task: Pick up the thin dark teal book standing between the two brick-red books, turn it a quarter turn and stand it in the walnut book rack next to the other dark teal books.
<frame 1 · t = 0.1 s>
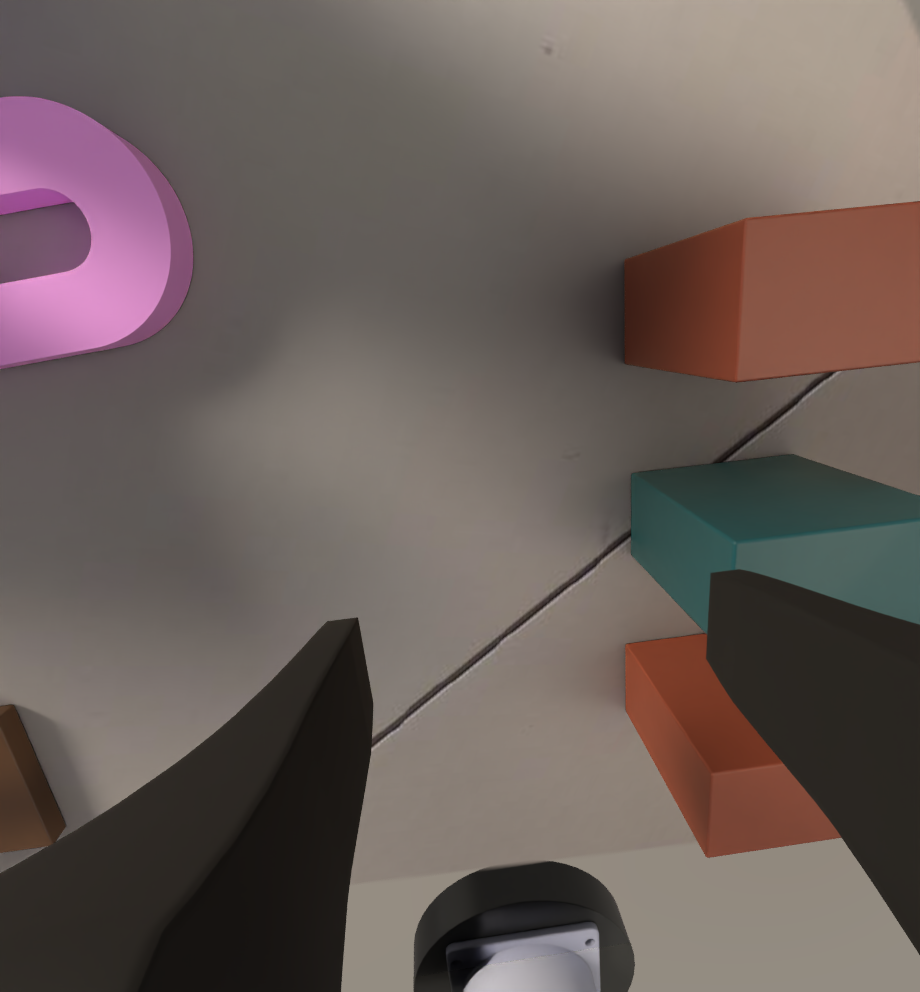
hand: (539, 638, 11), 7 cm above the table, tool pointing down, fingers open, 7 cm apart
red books: (710, 505, 18), on the table
teal book: (710, 505, 18), on the table
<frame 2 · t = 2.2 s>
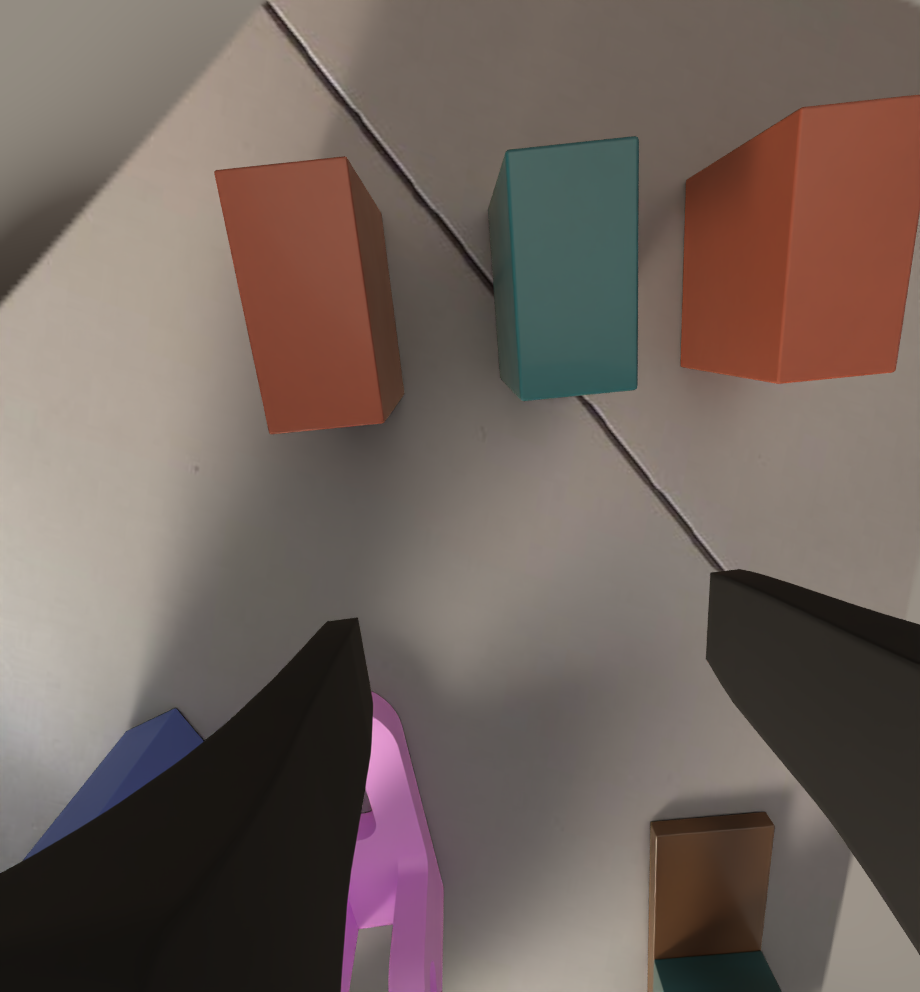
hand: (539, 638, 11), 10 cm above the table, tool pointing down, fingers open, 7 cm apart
book rack: (698, 978, 29), on the table
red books: (537, 293, 18), on the table
walkman: (205, 774, 25), on the table
bracket: (361, 794, 25), on the table
teal book: (537, 293, 18), on the table
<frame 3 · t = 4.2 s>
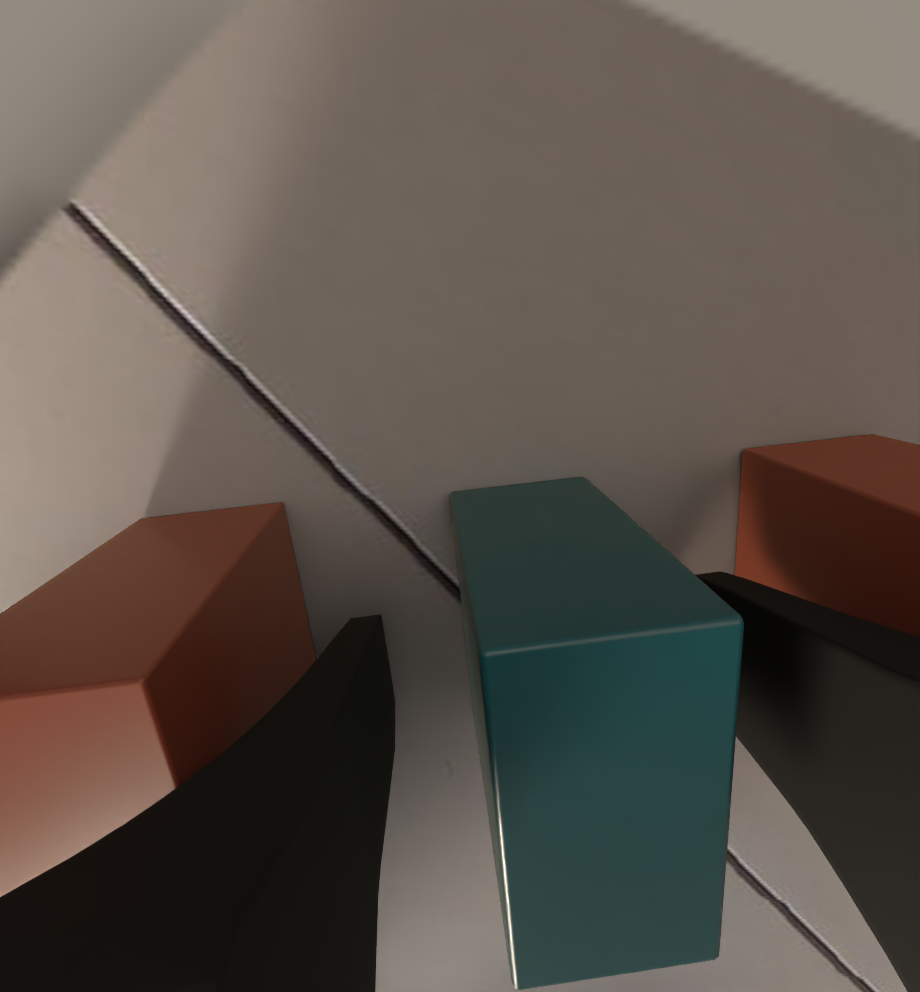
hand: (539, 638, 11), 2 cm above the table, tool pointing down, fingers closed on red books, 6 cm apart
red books: (525, 597, 12), on the table
teal book: (525, 597, 12), on the table
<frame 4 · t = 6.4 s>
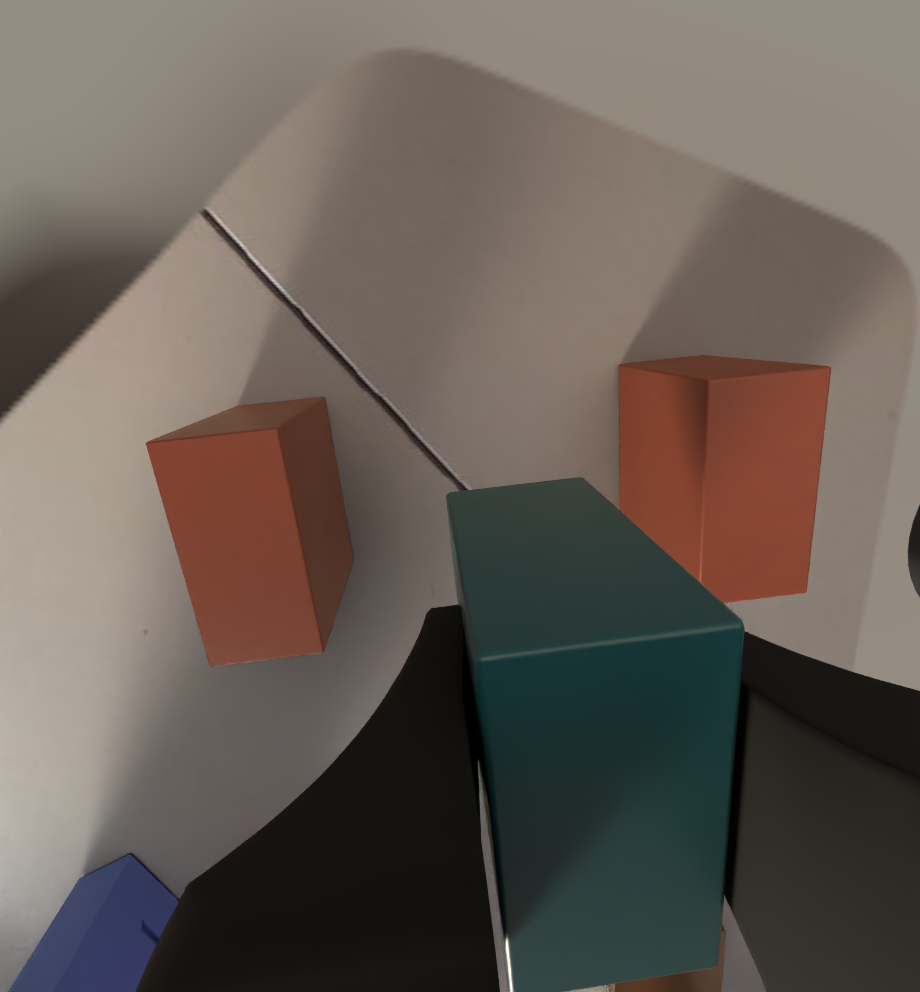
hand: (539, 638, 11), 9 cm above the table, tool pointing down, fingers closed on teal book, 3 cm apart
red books: (480, 465, 19), on the table
walkman: (163, 912, 24), on the table
teal book: (522, 599, 12), point 7 cm above the table, touching gripper
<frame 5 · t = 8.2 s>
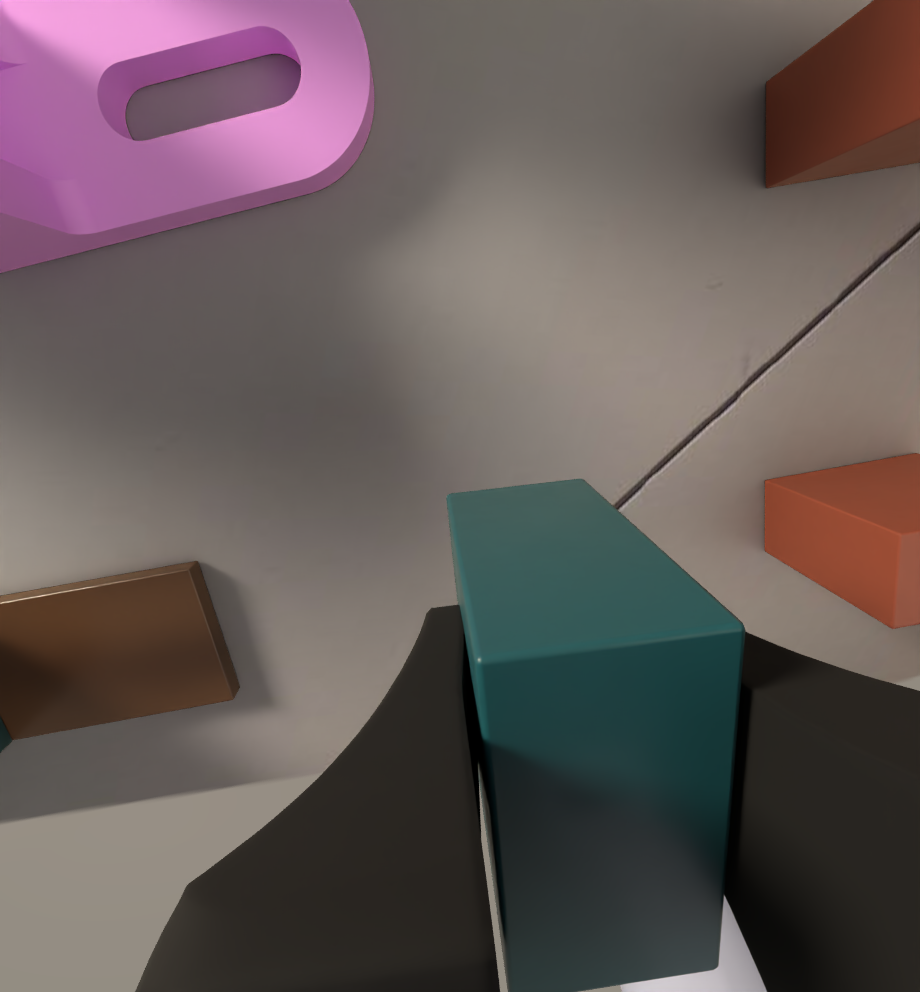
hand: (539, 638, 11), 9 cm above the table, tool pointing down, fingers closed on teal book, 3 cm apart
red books: (846, 331, 19), on the table
bracket: (161, 124, 16), on the table
teal book: (522, 600, 12), point 8 cm above the table, touching gripper
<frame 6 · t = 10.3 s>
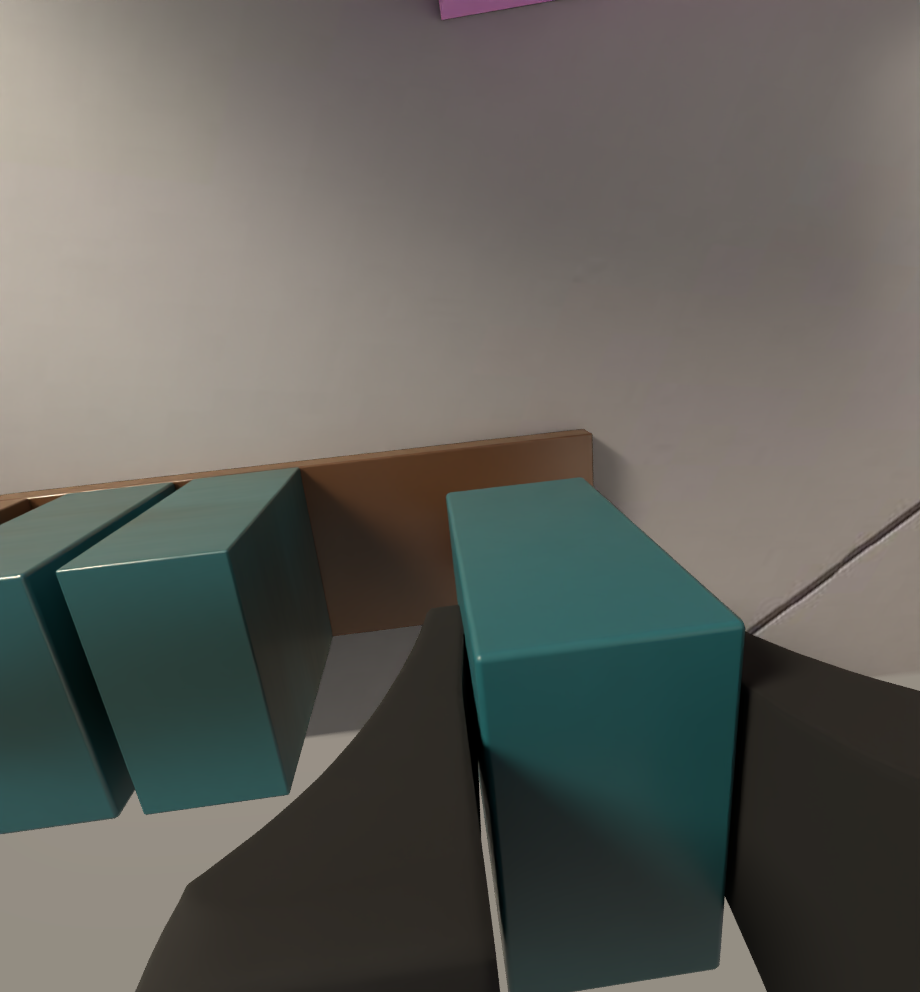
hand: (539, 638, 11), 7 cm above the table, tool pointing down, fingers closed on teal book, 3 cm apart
book rack: (217, 558, 16), on the table
teal book: (522, 599, 12), point 5 cm above the table, touching gripper
when the fingers open (2 cm above the table, at t = 11.7 s): teal book stays where it is, resting on book rack.
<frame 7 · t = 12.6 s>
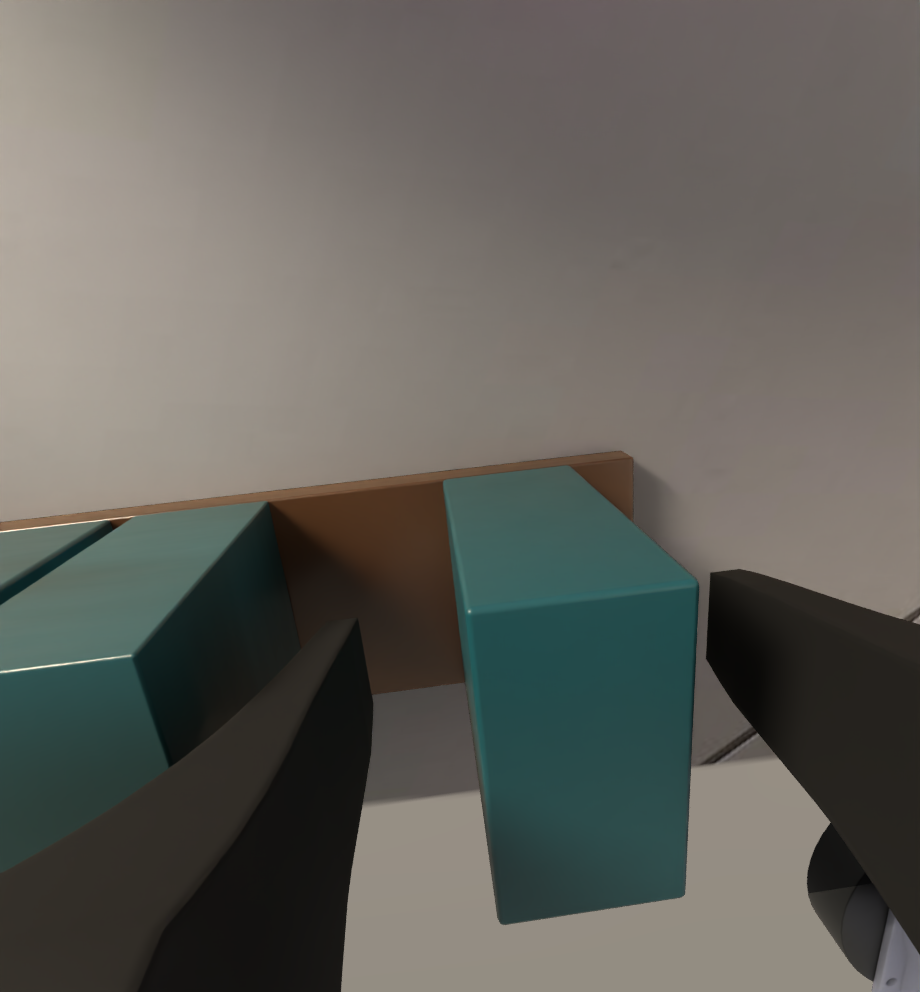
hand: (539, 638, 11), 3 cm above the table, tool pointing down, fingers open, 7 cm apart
book rack: (171, 608, 13), on the table
teal book: (514, 579, 13), point 1 cm above the table, touching book rack
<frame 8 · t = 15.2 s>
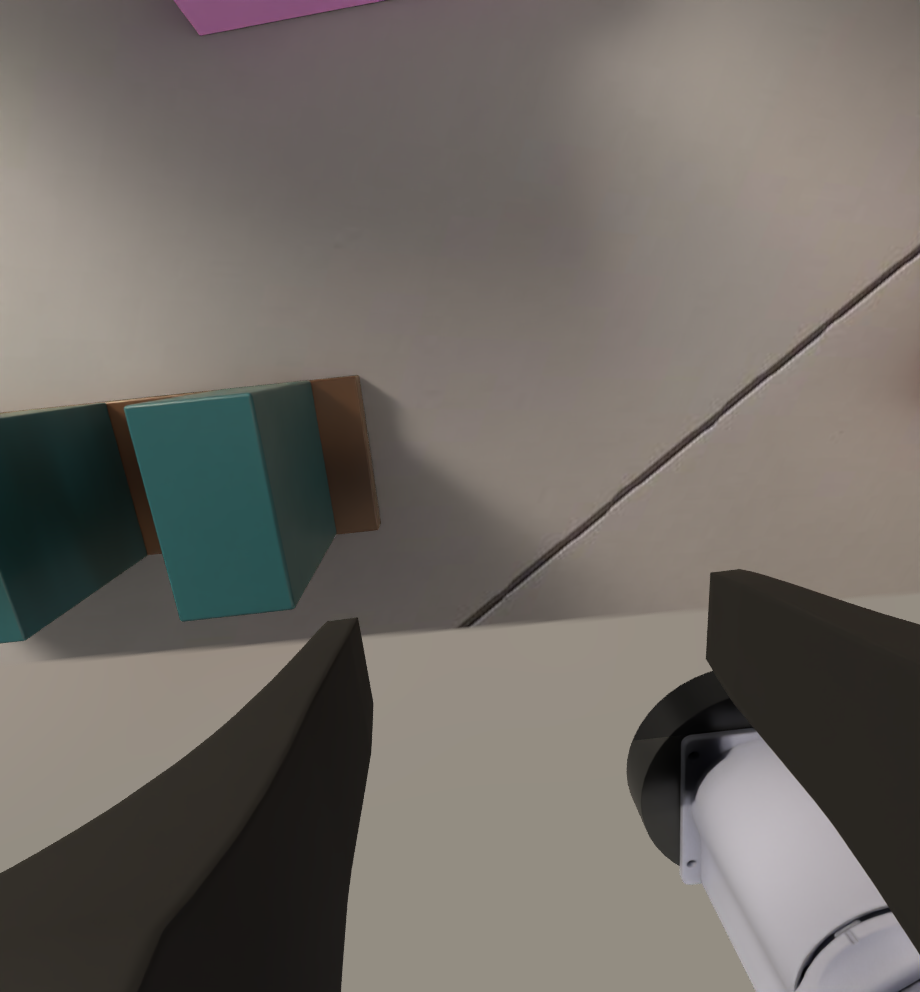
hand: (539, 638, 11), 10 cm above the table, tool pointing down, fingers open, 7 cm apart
book rack: (51, 486, 19), on the table
teal book: (282, 464, 19), point 1 cm above the table, touching book rack
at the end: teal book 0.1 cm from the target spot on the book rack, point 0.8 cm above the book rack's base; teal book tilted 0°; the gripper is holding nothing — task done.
